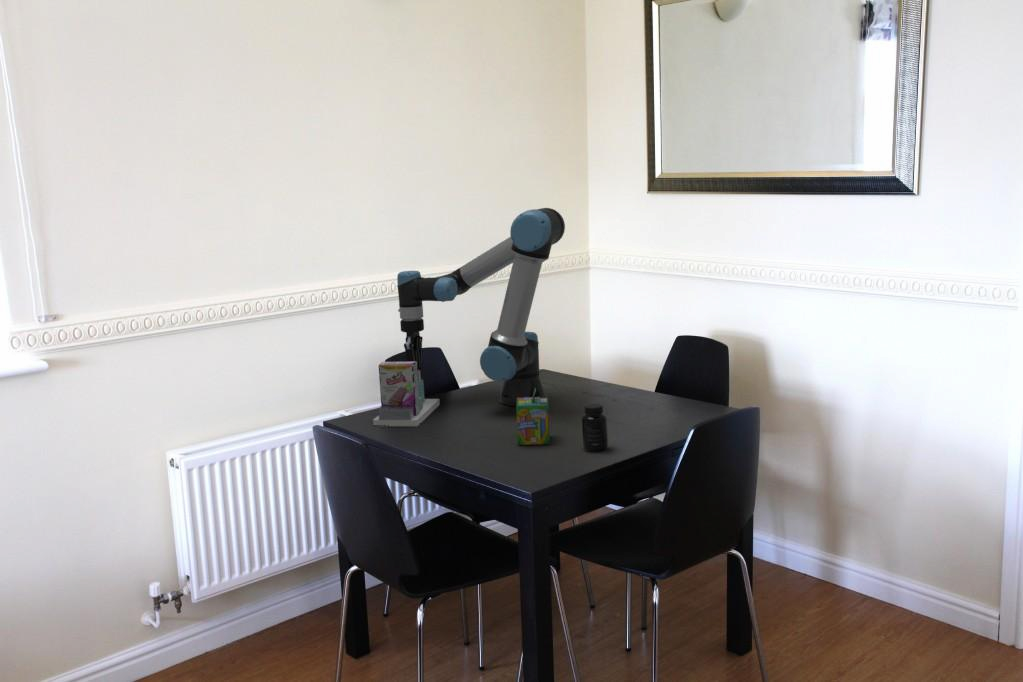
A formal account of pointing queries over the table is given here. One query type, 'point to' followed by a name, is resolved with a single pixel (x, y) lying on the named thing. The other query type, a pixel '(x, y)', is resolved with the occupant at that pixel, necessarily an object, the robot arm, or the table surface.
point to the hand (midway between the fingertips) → (416, 389)
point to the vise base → (416, 419)
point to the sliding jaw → (421, 393)
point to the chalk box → (533, 420)
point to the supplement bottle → (594, 429)
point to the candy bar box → (399, 384)
